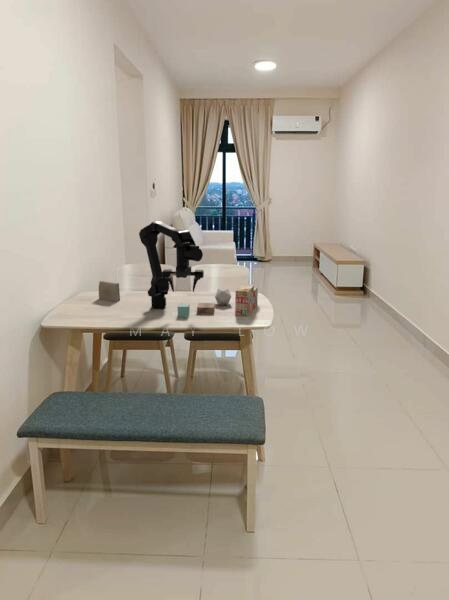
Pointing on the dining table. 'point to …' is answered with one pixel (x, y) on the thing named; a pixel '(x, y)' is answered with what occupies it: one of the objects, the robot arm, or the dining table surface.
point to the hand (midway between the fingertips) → (183, 291)
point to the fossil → (109, 291)
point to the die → (223, 296)
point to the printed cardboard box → (245, 299)
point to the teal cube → (183, 310)
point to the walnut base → (205, 308)
